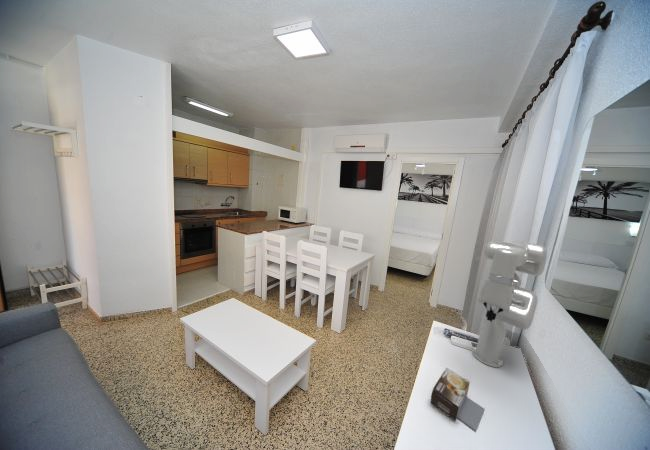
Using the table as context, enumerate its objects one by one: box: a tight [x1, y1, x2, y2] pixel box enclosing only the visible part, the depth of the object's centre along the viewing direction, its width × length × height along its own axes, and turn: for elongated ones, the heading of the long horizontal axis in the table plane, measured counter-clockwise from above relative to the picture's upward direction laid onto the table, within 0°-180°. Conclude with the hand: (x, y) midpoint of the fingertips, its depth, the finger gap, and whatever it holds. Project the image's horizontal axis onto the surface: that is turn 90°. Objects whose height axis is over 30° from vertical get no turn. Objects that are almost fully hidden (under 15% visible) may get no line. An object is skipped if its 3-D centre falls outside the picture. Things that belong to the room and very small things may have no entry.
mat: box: [456, 396, 485, 433], centre depth 85 cm, size 12×13×1 cm
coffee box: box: [430, 367, 471, 422], centre depth 87 cm, size 9×6×16 cm
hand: (490, 319), depth 93 cm, fingers closed
